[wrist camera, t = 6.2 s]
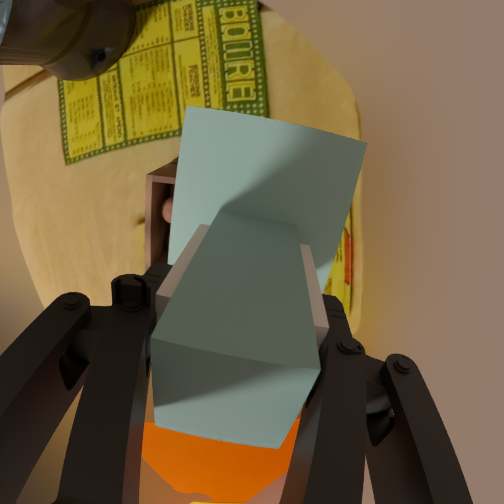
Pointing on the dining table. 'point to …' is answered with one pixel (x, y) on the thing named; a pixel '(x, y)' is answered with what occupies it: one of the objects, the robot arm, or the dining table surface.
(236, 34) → the dining table surface
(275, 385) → the lid
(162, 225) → the box
